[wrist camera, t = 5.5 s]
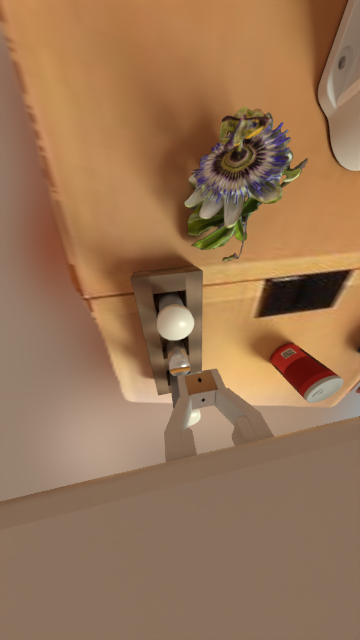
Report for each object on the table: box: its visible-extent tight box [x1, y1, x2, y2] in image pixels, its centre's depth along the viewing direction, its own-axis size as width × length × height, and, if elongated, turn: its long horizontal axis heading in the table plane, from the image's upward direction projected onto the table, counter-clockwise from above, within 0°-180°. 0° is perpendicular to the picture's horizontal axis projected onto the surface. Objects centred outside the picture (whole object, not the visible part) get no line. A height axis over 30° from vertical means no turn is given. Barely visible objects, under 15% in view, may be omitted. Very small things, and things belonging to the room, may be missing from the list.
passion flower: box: [184, 106, 308, 262], centre depth 17 cm, size 11×11×12 cm
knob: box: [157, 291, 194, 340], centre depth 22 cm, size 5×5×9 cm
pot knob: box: [166, 339, 190, 376], centre depth 24 cm, size 3×3×6 cm
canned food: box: [271, 344, 343, 403], centre depth 34 cm, size 8×8×11 cm
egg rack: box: [131, 266, 203, 395], centre depth 28 cm, size 26×10×4 cm, turn 4°
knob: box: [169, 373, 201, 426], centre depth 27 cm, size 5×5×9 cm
